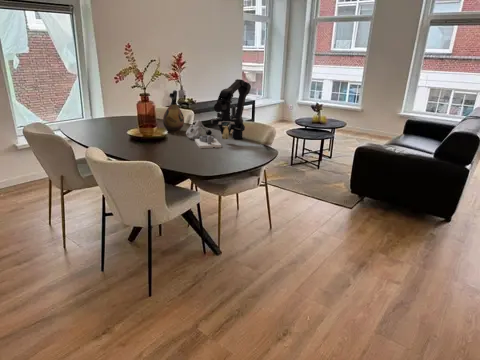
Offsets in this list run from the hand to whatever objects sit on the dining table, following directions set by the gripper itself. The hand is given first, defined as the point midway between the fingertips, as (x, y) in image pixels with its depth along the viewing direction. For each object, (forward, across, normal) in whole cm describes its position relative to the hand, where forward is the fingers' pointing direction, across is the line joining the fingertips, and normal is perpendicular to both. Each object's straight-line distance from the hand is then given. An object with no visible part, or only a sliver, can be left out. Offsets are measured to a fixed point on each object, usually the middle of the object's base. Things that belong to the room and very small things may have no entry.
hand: (225, 134), depth 227 cm
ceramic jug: (+6, +29, -41) cm, 51 cm away
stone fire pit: (+6, +12, 0) cm, 13 cm away
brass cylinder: (+3, 0, 0) cm, 3 cm away
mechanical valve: (+7, +13, -20) cm, 25 cm away
